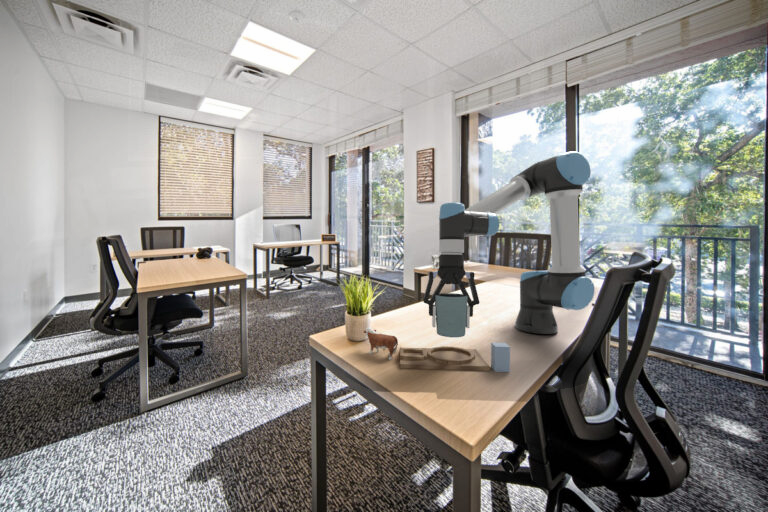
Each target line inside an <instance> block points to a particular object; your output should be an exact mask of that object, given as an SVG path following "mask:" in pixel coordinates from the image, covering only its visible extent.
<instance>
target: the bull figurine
mask: <svg viewBox="0 0 768 512" xmlns="http://www.w3.org/2000/svg"><path fill="white" fill-rule="evenodd" d="M363 333H364V334H365V336H366V337H367V339H368V341H369V344H370V351H369V355H370V354H371V355H373V351H374V349H376V353H380V351H379V349H382V351H385V350H386V349H387V350H388V354H387V356H388V359H387V360H388V361H391V360H392V359H393V355H395V354H396V353H397V351H398V350H397V348H398V345H399V341H398V338H397V336H395V335H392V334H391V335H389V334H384V333H381V332H377V330H376V329H372V327H368V328H366V330H363Z"/></svg>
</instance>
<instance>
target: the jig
mask: <svg viewBox="0 0 768 512" xmlns="http://www.w3.org/2000/svg"><path fill="white" fill-rule="evenodd" d="M399 356H400V358H399V368H400V369H410V370H411V369H413V370H445V371H446V370H450V371H451V370H452V371H455V370H456V371H484V372H485V371H487V372H488V371H489V372H490V365H489V364H488V363H487V361H486V360H485V359H484V358H483V357H482V355H481V354H480V353H479V351H478V350H477V349H475V348H463V347H457V346H445V345H444V346H443V345H442V346H436V347H429V348H428V347H400V348H399Z"/></svg>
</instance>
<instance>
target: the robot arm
mask: <svg viewBox="0 0 768 512" xmlns="http://www.w3.org/2000/svg"><path fill="white" fill-rule="evenodd" d="M591 173H592V172H591V166H590V163H589V161H588V159H587V157H585V155H583V154H582V153H580V152H578V151H573V150H572V151H567V152H565V153H563V152H562V153H559V154H557V155H555V156H552V157H550V158H546V159H544V160H541V161H537V162H535V163H534V164H532V165H530V166H529V167H527V168H525V169H524V170H522V171H521V172H519V173H518V174H516V175H515V176H513V177H512V178H511V179H510V180H509V183H507V184H505V185H504V186H502V187H500V188H499V189H497V190H495V191H493V192H492V193H490V194H488V195H487V196H486V197H484V198H482V199H480V200H479V201H477V202H476V203H474V204H473V205H470V206H469V207H467V208H466V207H465V204H464V203H462V202H446V203H443V204H441V205H440V207H439V216H438V221H439V223H438V225H439V235H438V237H439V238H438V239H439V241H438V242H439V243H438V245H439V246H438V252H439V253H440V254H439V255H438V269H437V271H435V270H434V271H431V270H430V271H429V272H428V280H427V284H426V287H425V291H424V296H423V299H422V301H423V303H424V304H426V305H428V315H429V317H432V318H431V326H432V328H436V306H435V300H436V299H435V295H437V296H438V295H439V293H441V292H442V290H443V288H444V287H445V285H457V287H458V288H459V290H460V292H461V294H463V296H468V299H467V316H466V329H470V317H471V318H473V316H474V306H476V305H479V304H480V299H479V294H478V290H477V287H476V282H475V275H476V274H475V273H474V272H472V271H466V270H465V256H464V253H465V237H467V238H468V237H477V236H478V237H482V236H483V237H492V236H495V235H496V234H497V232H498V231H499V229H500V218H499V216H498V214H500V213H501V212H503V211H504V210H506V209H508V208H509V207H511V206H512V205H514V204H516V203H518V201H520V200H521V201H523V200H527V199H529V198H531V197H532V196H535V195H539V194H543V193H544V197H546V198H547V199H548V200H549V219H550V221H549V222H550V241H551V243H550V244H551V267H549V269H548V270H531V271H524V272H522V273H521V274H520V278H519V279H520V280H519V304H520V305H519V311H518V313H517V317H516V319H515V323H514V324H515V325H514V328H516V330H518V331H521V332H525V333H532V334H540V335H543V334H544V335H550V334H556V333H558V331H559V329H558V328H559V327H558V323H557V320H556V318H555V313H554V310H553V308H554V307H556V308H561V309H565V310H568V311H569V310H573V311H581V310H583V309H586V308H587V307H588V306H589V305H590V304H591V302H592V301H593V299H594V295H595V285H594V282H593V281H592V279H591V278H589V277H587V276H586V270H585V268H583V267H582V266H581V261H580V260H581V259H580V258H581V257H580V256H581V255H580V252H581V251H580V228H579V227H580V225H579V223H580V222H579V200H578V199H579V195H581V193H582V192H583V185H585V184H586V183H587V182H588V181H589V179H590V177H591ZM437 275H438V278H439V279H440V280H439V282H438V285H437V287H436V288H435V290H434V292H433V294H432V296H431V297H430V294H431V291H432V288H433V283H434V279H436V278H437ZM464 277H466V279H467V280H468V284H469V289H470V292H471V296H472V297H470V294H469V293H468V291H467V289H466V287H465V285H464V283H463V281H462V280H463V278H464ZM429 298H430V299H429ZM471 298H472V299H471Z"/></svg>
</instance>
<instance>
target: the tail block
mask: <svg viewBox="0 0 768 512" xmlns="http://www.w3.org/2000/svg"><path fill="white" fill-rule="evenodd" d="M490 344H491V346H490V347H491V348H490V351H491V352H490V356H491V357H490V367H491V369H492V370H493V371H494V372H495V373H498V372H499V373H501V372H502V373H510V371H511V370H510V369H511V346H510V345H509V344H507V342H491V343H490Z"/></svg>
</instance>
